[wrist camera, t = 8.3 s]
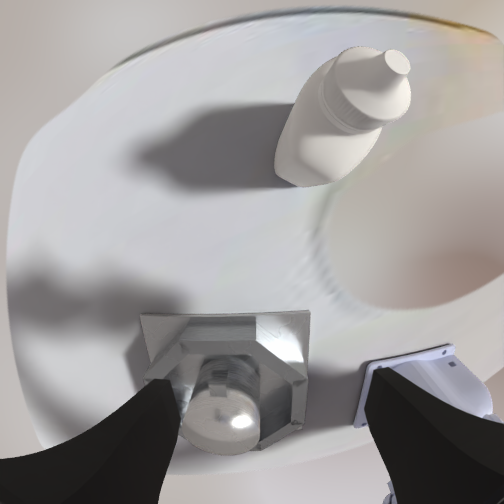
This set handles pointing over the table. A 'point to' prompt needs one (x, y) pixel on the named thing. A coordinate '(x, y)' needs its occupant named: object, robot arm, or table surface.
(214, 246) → the table surface
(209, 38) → the table surface
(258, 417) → the silver short rounded cylinder
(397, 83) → the eye dropper bottle
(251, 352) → the collar
